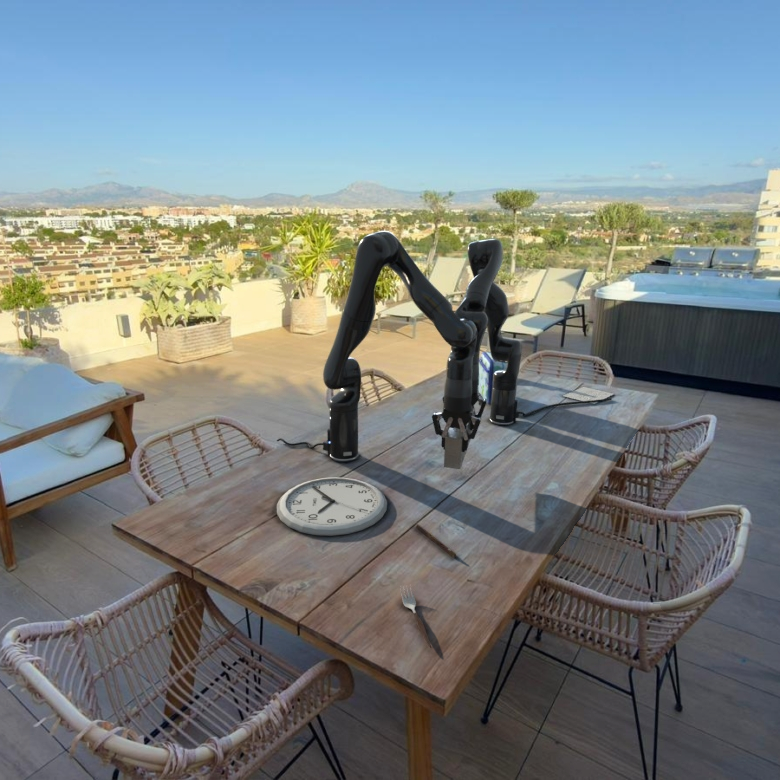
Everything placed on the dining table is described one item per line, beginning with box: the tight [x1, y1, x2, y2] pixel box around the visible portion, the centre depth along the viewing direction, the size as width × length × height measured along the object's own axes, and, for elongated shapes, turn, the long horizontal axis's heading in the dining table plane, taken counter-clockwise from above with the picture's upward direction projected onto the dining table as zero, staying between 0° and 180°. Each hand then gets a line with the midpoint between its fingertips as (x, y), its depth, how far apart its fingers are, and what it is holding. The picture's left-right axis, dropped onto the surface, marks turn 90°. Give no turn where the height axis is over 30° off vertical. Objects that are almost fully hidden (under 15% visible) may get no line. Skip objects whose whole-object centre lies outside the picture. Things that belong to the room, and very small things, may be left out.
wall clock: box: [276, 476, 388, 537], centre depth 142 cm, size 30×2×30 cm
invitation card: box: [562, 386, 615, 405], centre depth 241 cm, size 21×1×15 cm
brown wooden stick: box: [415, 524, 457, 559], centre depth 127 cm, size 15×1×1 cm, turn 34°
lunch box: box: [478, 351, 508, 406], centre depth 230 cm, size 26×11×21 cm, turn 179°
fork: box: [399, 584, 432, 649], centre depth 101 cm, size 3×16×2 cm, turn 16°
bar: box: [443, 420, 472, 470], centre depth 156 cm, size 23×5×9 cm, turn 164°
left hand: (454, 449), depth 148 cm, fingers closed on bar, 4 cm apart
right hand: (462, 428), depth 164 cm, fingers closed on bar, 4 cm apart
